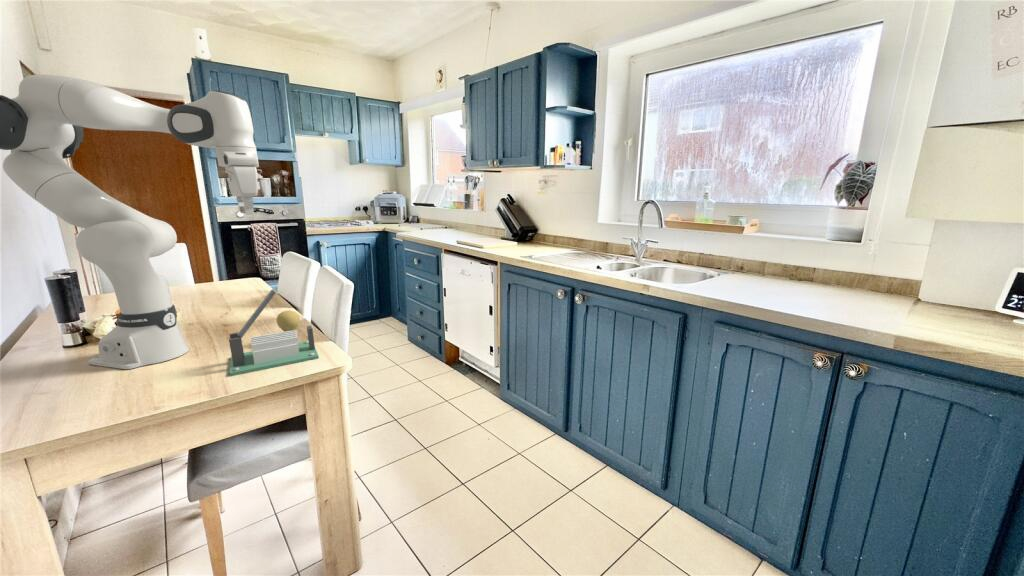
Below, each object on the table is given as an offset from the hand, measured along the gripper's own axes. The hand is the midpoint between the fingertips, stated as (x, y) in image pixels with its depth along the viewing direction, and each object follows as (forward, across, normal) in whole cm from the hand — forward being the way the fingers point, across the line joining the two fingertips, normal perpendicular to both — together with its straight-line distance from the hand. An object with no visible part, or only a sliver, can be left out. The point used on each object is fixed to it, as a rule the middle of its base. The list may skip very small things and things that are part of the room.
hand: (246, 213), depth 108 cm
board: (+41, +4, +1) cm, 41 cm away
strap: (+28, +3, -2) cm, 28 cm away
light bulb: (+41, -8, +8) cm, 42 cm away
